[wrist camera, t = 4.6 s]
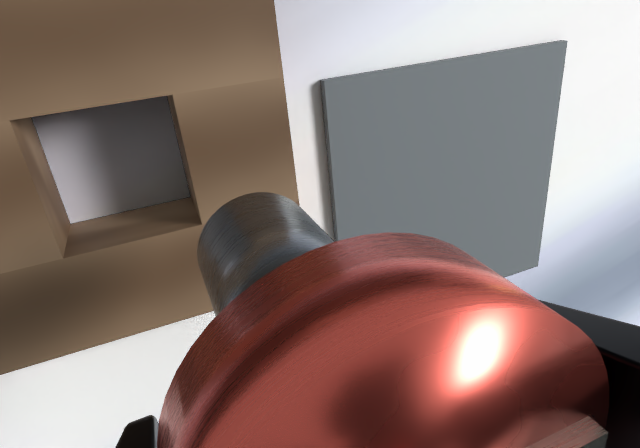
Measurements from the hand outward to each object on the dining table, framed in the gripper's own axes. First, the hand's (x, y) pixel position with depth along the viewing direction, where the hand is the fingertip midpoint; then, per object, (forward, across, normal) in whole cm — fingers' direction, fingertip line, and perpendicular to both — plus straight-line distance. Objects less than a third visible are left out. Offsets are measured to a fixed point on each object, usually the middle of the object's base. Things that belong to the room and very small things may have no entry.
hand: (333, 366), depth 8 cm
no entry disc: (+5, 0, 0) cm, 5 cm away
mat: (+13, -12, +4) cm, 18 cm away
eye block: (+13, +3, -1) cm, 13 cm away
